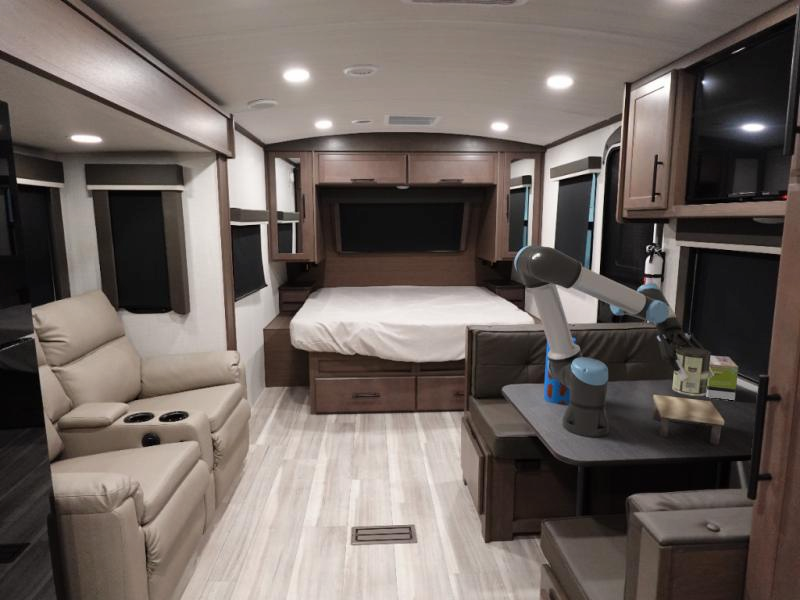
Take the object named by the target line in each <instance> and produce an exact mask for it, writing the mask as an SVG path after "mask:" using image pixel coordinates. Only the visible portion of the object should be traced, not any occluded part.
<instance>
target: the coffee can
mask: <svg viewBox="0 0 800 600" xmlns="http://www.w3.org/2000/svg"><path fill="white" fill-rule="evenodd" d="M704 349H705V348H704ZM704 349H700V348H694V347H681V346H678V347H676V360H679V361H680V363H681V365H682V367H683V368H684V370H685V372H686V374H687V376H688V378H687V379H686V380H684V381H681V380H680V378H679V376H678V374H677V373H676V371H674V370H673V378H672V379H673V380H672V386H671V389H672V390H673V391H674V392H676V393H678V394H681V395H686V396H693V397H703V396H706V394H707V383H708V374H709V365H710V357H711V356H712V352H711V351H709V350H707V349H705V350H704Z"/></svg>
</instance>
